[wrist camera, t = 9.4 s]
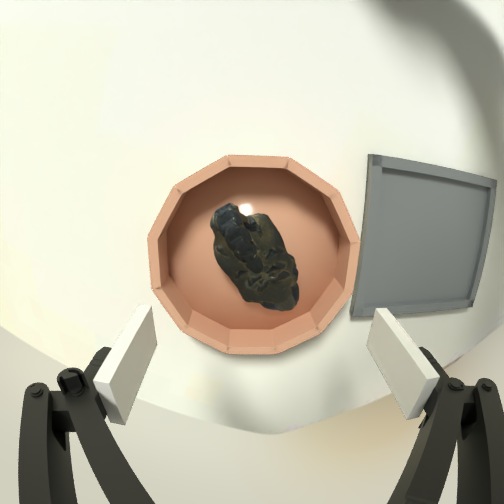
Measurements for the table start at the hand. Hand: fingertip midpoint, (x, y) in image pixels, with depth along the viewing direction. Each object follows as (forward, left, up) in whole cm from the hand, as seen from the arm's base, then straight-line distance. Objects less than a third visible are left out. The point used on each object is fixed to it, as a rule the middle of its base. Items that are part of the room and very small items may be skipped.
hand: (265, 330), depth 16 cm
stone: (+1, 0, -15) cm, 15 cm away
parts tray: (-2, +22, -16) cm, 27 cm away
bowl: (0, 0, -16) cm, 16 cm away
